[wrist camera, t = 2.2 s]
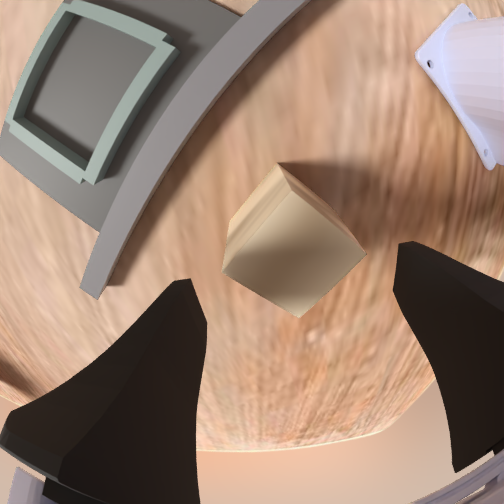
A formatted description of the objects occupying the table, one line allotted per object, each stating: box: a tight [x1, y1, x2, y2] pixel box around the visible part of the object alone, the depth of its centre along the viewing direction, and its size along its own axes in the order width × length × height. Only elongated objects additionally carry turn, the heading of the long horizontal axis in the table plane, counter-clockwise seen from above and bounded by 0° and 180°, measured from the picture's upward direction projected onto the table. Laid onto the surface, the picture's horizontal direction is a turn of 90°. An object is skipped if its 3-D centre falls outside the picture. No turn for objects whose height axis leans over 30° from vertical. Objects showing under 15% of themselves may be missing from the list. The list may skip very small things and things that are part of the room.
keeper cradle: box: [0, 0, 241, 233], centre depth 10 cm, size 11×14×2 cm
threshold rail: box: [80, 0, 311, 300], centre depth 12 cm, size 2×22×2 cm, turn 143°
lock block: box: [222, 163, 367, 318], centre depth 12 cm, size 4×4×5 cm
